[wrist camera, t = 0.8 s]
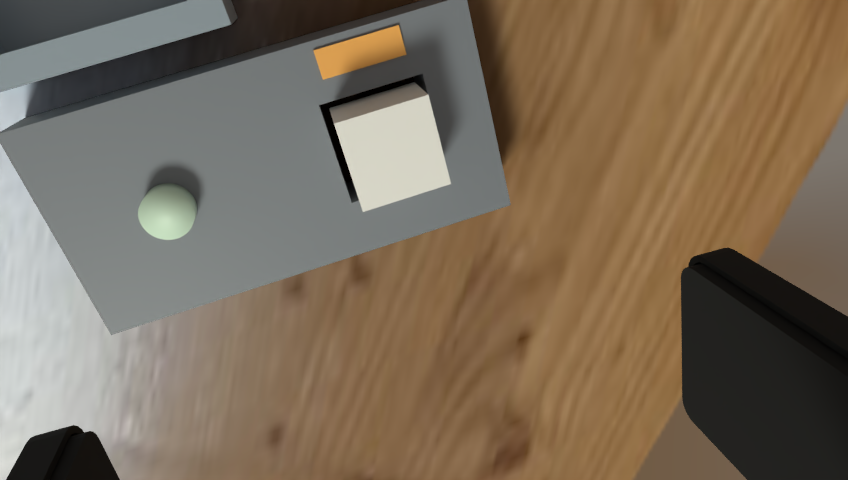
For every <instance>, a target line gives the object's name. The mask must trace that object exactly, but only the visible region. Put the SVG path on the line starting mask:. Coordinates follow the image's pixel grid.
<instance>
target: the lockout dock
mask: <svg viewBox="0 0 848 480" xmlns="http://www.w3.org/2000/svg"><path fill="white" fill-rule="evenodd" d="M237 18H238V17H237V14H236V12H235V9H234V6H233V3H232V1H231V0H0V92H3V91H6V90H9V89H13V88H16V87H20V86H23V85H27V84H30V83H33V82H37V81H40V80H44V79H47V78H50V77H54V76H57V75H61V74H64V73H68V72H71V71H74V70H78V69H81V68H85V67H88V66H92V65H95V64H98V63H102V62H105V61H109V60H112V59H115V58H119V57H122V56H126V55H129V54H133V53H136V52H139V51H143V50H146V49H150V48H153V47H157V46H160V45H163V44H167V43H170V42H174V41H177V40H180V39H184V38H187V37H191V36H194V35H198V34H201V33H204V32H208V31H211V30H215V29H218V28H222V27H225V26H228V25H231V24H232V23H233V22H234V21H235V20H236V19H237Z"/></svg>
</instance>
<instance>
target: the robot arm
mask: <svg viewBox="0 0 848 480" xmlns="http://www.w3.org/2000/svg"><path fill="white" fill-rule="evenodd" d="M681 313H682V398H683V404H684V407H685V410H686V412H687V414H688V415H689V417H690V419H691V420H692V421H693V422H694V424H695V425H696V426H697V427H698V428H699V429H700V430H701V431H702V432H703V433H704V434H705V435H706V436H707V437H708V439H709V440H710V441H711V442H712V443H713V444H714V445H715V446H716V447H717V448H718V449H719V450H720V451H721V452H722V453H723V454H724V455H725V457H726V458H727V459H728V460H729V461H730V462H731V463H732V464H733V465H734V466H735V467H736V468H737V469H738V470H739V471H740V472H741V474H742V475H743V476H744V477H745V478H746V479H747V480H848V317H847V316H846V315H844V314H842V313H841V312H839V311H837V310H835V309H834V308H832V307H830V306H828V305H827V304H825V303H823V302H822V301H820V300H818V299H817V298H815V297H813V296H812V295H810V294H808V293H807V292H805V291H803V290H801V289H800V288H798V287H796V286H795V285H793V284H791V283H789V282H788V281H786V280H784V279H783V278H781V277H779V276H778V275H776V274H774V273H772V272H771V271H769V270H767V269H766V268H764V267H762V266H761V265H759V264H757V263H755V262H754V261H752V260H750V259H749V258H747V257H745V256H743V255H742V254H740V253H738V252H737V251H735V250H733V249H730V248H723V249H719V250H715V251H712V252H708V253H704V254H701V255H697V256H694V257H693V258H692V259H691V260H690V262H689V266H688V267H687V268H685V269H684V270H683V271H682V274H681ZM6 480H120V479H119V477H118V475H117V473H116V471H115V469H114V467H113V466H112V464H111V462H110V460H109V458H108V456H107V454H106V452H105V450H104V448H103V446H102V444H101V442H100V440H99V438H98V437H97V435H96V434H95V433H94V432H91V431H89V432H85V433H84V432H83V430H82V429H81V428H79V427H78V426H74V425H73V426H69V427H66V428H62V429H58V430H55V431H51V432H47V433H44V434H40V435H36V436H34V437H31V438H30V439H29V440H28V442H27V443H26V445H25V446H24V448H23V450H22V452H21V454H20V456H19V457H18V459H17V461H16V463H15V465H14V466H13V468H12V470H11V472H10V474H9V476H8V477H7V479H6Z"/></svg>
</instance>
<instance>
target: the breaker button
mask: <svg viewBox="0 0 848 480" xmlns="http://www.w3.org/2000/svg"><path fill="white" fill-rule="evenodd" d="M329 109H330V113H331V116H332V119H333V122H334V125H335V129H336V132H337V135H338V138H339V141H340V144H341V147H342V150H343V153H344V156H345V159H346V162H347V165H348V168H349V171H350V174H351V177H352V180H353V183H354V186H355V189H356V192H357V196H358V199H359V202H360V205H361V208H362V211H363V212H365V211H368V210H371V209H374V208H378V207H381V206H384V205H387V204H390V203H393V202H396V201H399V200H403V199H406V198H409V197H412V196H415V195H418V194H421V193H424V192H427V191H431V190H434V189H437V188H440V187H443V186H446V185H449V184H451V181H450V177H449V173H448V170H447V166H446V162H445V158H444V154H443V150H442V146H441V142H440V138H439V134H438V130H437V126H436V122H435V118H434V115H433V111H432V107H431V103H430V99H429V95H428V94H427V93H426V92H425V91H424V90H423V89H422V88H420V87H419V86H418V85H417V84H416V83H415V82H413V83H410V84H406V85H403V86H400V87H396V88H393V89H390V90H387V91H383V92H380V93H377V94H374V95H370V96H367V97H364V98H361V99H357V100H354V101H351V102H348V103H344V104H341V105H338V106H334V107H331V108H329Z"/></svg>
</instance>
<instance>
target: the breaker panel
mask: <svg viewBox="0 0 848 480" xmlns="http://www.w3.org/2000/svg"><path fill="white" fill-rule="evenodd" d="M410 77H414V81H415V83H416V84H417V85H418V86H419V87H420V88H422V89H423V90H424V91H425V92H426V93H427V94H428V95H429V99H430V103H431V107H432V111H433V115H434V118H435V122H436V126H437V130H438V134H439V138H440V142H441V146H442V150H443V154H444V158H445V162H446V166H447V170H448V173H449V177H450V181H451V184H449V185H446V186H443V187H440V188H437V189H434V190H431V191H427V192H424V193H421V194H418V195H415V196H412V197H409V198H406V199H403V200H399V201H396V202H393V203H390V204H387V205H384V206H381V207H378V208H374V209H371V210H368V211H365V212H363V211H362V208H361V205H360V202H359V199H358V196H357V192H356V189H355V186H354V183H353V180H352V181H349V182H346V181H345V178H344V175H343V172H342V169H341V166H340V163H339V160H338V157H337V154H336V151H335V148H334V145H333V142H332V139H331V136H330V133H329V130H328V127H327V124H326V121H325V118H324V115H323V112H322V109H321V106H320V105H322V104H325V103H328V102H331V101H335V100H338V99H341V98H344V97H348V96H351V95H354V94H358V93H361V92H364V91H367V90H371V89H374V88H377V87H380V86H384V85H387V84H390V83H394V82H397V81H400V80H403V79H407V78H410ZM0 144H1V145H2V147H3V149H4V150H5V152H6V154H7V156H8V157H9V159H10V161H11V163H12V164H13V166H14V168H15V169H16V171H17V173H18V175H19V176H20V178H21V180H22V182H23V183H24V185H25V187H26V188H27V190H28V192H29V194H30V195H31V197H32V199H33V201H34V202H35V204H36V206H37V207H38V209H39V211H40V213H41V214H42V216H43V218H44V220H45V221H46V223H47V225H48V226H49V228H50V230H51V232H52V233H53V235H54V237H55V239H56V240H57V242H58V244H59V245H60V247H61V249H62V251H63V252H64V254H65V256H66V258H67V259H68V261H69V263H70V265H71V266H72V268H73V270H74V271H75V273H76V275H77V277H78V278H79V280H80V282H81V284H82V285H83V287H84V289H85V290H86V292H87V294H88V296H89V297H90V299H91V301H92V303H93V304H94V306H95V308H96V309H97V311H98V313H99V315H100V316H101V318H102V320H103V322H104V323H105V325H106V327H107V328H108V330H109V332H110V334H111V335H113V334H116V333H119V332H122V331H125V330H128V329H131V328H134V327H137V326H140V325H143V324H146V323H149V322H153V321H156V320H159V319H162V318H165V317H168V316H171V315H174V314H177V313H180V312H183V311H186V310H189V309H192V308H196V307H199V306H202V305H205V304H208V303H211V302H214V301H217V300H220V299H223V298H226V297H229V296H232V295H235V294H239V293H242V292H245V291H248V290H251V289H254V288H257V287H260V286H263V285H266V284H269V283H272V282H275V281H278V280H282V279H285V278H288V277H291V276H294V275H297V274H300V273H303V272H306V271H309V270H312V269H315V268H318V267H321V266H325V265H328V264H331V263H334V262H337V261H340V260H343V259H346V258H349V257H352V256H355V255H358V254H361V253H364V252H368V251H371V250H374V249H377V248H380V247H383V246H386V245H389V244H392V243H395V242H398V241H401V240H404V239H407V238H411V237H414V236H417V235H420V234H423V233H426V232H429V231H432V230H435V229H438V228H441V227H444V226H447V225H450V224H454V223H457V222H460V221H463V220H466V219H469V218H472V217H475V216H478V215H481V214H484V213H487V212H490V211H493V210H497V209H500V208H503V207H506V206H509V205H511V204H510V200H509V195H508V190H507V186H506V181H505V176H504V171H503V167H502V162H501V157H500V153H499V148H498V143H497V139H496V134H495V129H494V124H493V120H492V115H491V110H490V106H489V101H488V96H487V92H486V87H485V82H484V77H483V73H482V68H481V63H480V59H479V54H478V49H477V45H476V40H475V35H474V31H473V26H472V21H471V16H470V12H469V7H468V2H467V0H422V1H418V2H415V3H411V4H408V5H405V6H401V7H398V8H395V9H391V10H388V11H384V12H381V13H378V14H374V15H371V16H368V17H364V18H361V19H357V20H354V21H351V22H347V23H344V24H341V25H337V26H334V27H330V28H327V29H324V30H320V31H317V32H314V33H310V34H307V35H303V36H300V37H297V38H293V39H290V40H287V41H283V42H280V43H276V44H273V45H270V46H266V47H263V48H260V49H256V50H253V51H249V52H246V53H243V54H239V55H236V56H233V57H229V58H226V59H222V60H219V61H216V62H212V63H209V64H206V65H202V66H199V67H195V68H192V69H189V70H185V71H182V72H179V73H175V74H172V75H168V76H165V77H162V78H158V79H155V80H152V81H148V82H145V83H141V84H138V85H135V86H131V87H128V88H125V89H121V90H118V91H114V92H111V93H108V94H104V95H101V96H98V97H94V98H91V99H87V100H84V101H81V102H77V103H74V104H71V105H67V106H64V107H60V108H57V109H54V110H50V111H47V112H44V113H40V114H37V115H33V116H30V117H27V118H24V119H22V120H20V121H19V122H17V123H15V124H14V125H12V126H10V127H8V128H7V129H5V130H3V131H1V132H0Z"/></svg>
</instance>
